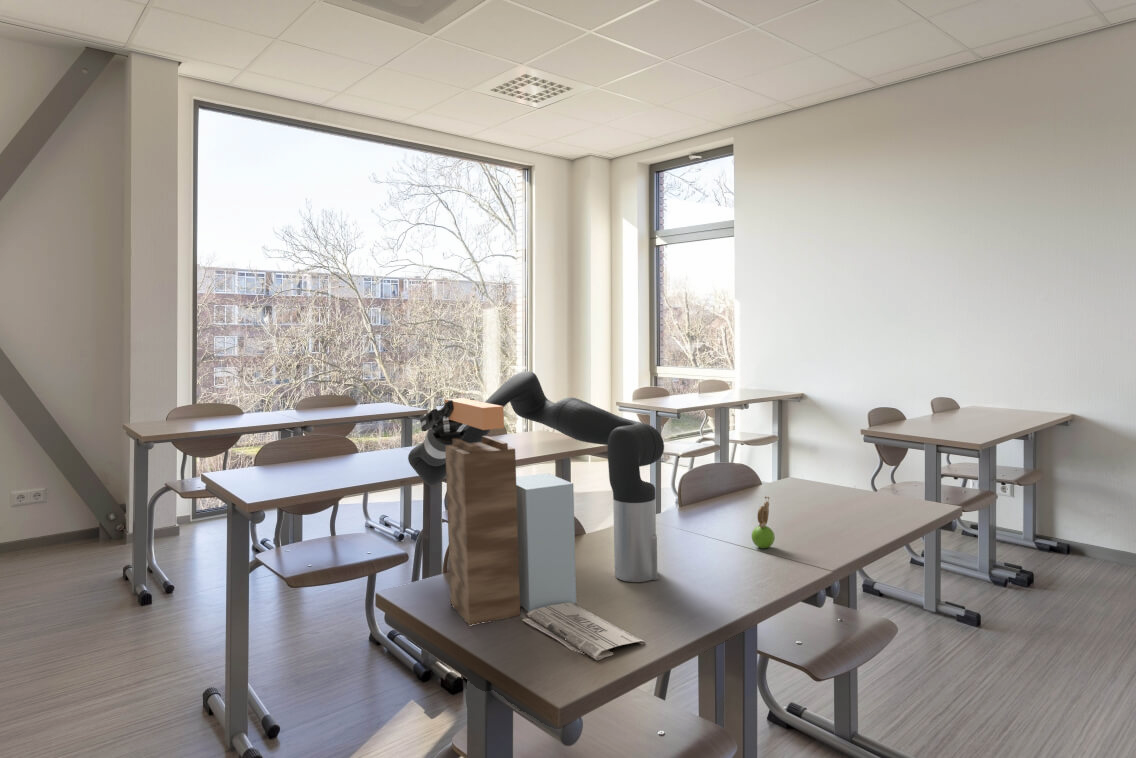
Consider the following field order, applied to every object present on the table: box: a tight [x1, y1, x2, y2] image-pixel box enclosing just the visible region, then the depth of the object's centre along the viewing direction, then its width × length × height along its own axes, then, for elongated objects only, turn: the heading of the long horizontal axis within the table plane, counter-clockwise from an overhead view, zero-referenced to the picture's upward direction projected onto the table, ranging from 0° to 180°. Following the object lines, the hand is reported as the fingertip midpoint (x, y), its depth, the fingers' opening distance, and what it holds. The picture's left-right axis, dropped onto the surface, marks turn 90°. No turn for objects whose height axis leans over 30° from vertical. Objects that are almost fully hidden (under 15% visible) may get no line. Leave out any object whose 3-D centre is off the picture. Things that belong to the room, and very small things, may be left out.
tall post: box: [445, 435, 521, 626], centre depth 133 cm, size 12×10×33 cm
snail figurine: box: [751, 496, 776, 549], centre depth 169 cm, size 5×6×12 cm
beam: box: [443, 397, 505, 430], centre depth 135 cm, size 24×4×4 cm, turn 26°
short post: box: [516, 473, 577, 613], centre depth 139 cm, size 12×10×24 cm
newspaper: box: [521, 603, 646, 661], centre depth 123 cm, size 23×12×2 cm, turn 34°
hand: (462, 403), depth 140 cm, fingers closed on beam, 4 cm apart
